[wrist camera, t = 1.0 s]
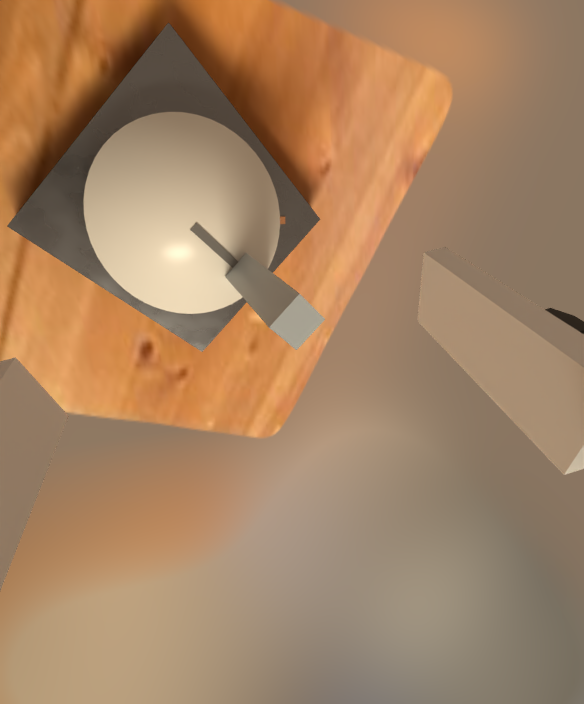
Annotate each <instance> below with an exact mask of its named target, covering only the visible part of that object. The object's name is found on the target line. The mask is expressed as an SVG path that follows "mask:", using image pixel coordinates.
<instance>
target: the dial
mask: <svg viewBox="0 0 584 704" xmlns="http://www.w3.org/2000/svg"><path fill="white" fill-rule="evenodd" d="M84 218H85V223H86V229H87V232H88V235H89V239H90V242H91V244H92V246H93V249H94V251H95V253H96V255H97V257H98V259H99V260H100V262H101V263H102V265H103V266H104V268H105V269H106V271H107V272H108V273H109V274H110V275H111V277H112V278H113V279H114V280H115V281H116V282H117V283H118V284H119V285H120V286H121V287H122V288H123V289H125V290H126V291H127V292H129V293H130V294H131V295H133V296H134V297H136V298H138V299H139V300H141V301H143V302H144V303H147V304H149V305H151V306H153V307H156V308H159V309H162V310H165V311H170V312H175V313H184V314H197V313H206V312H211V311H215V310H218V309H221V308H224V307H226V306H228V305H231V304H233V303H234V302H236V301H238V300H239V299H241V298H242V297H243V298H244V299H245V300H246V301H247V303H248V304H249V305H250V306H251V307H252V308H253V309H254V311H255V312H256V313H257V314H258V315H259V316H260V318H261V319H262V320H263V321H264V322H265V323H266V324H267V326H268V327H269V328H270V329H272V330H273V331H274V332H275V333H276V334H278V335H279V336H280V337H281V338H283V339H284V340H285V341H286V342H287V343H289V344H290V345H291V346H292V347H293V348H295V349H296V350H297V349H298V348H299V347H300V346H301V345H302V344H303V343H304V342H305V341H306V340H307V338H308V337H309V336H310V335H311V334H312V333H313V332H314V331H315V330H316V329H317V328H318V326H319V325H320V324H321V323H322V322H323V321H324V320H325V319H324V318H323V317H322V316H321V315H320V314H319V313H318V312H317V311H316V310H315V309H314V308H313V307H312V306H311V305H310V304H309V303H308V302H307V301H306V300H305V299H304V298H303V297H302V296H301V295H300V294H299V293H298V292H297V291H295V290H294V289H293V288H291V287H290V286H289V285H288V284H286V283H285V282H284V281H282V280H281V279H280V278H278V277H277V276H276V275H274V274H273V273H272V272H271V271H269V270H268V268H269V266H270V264H271V262H272V260H273V257H274V254H275V251H276V248H277V244H278V239H279V231H280V211H279V204H278V199H277V195H276V191H275V188H274V185H273V183H272V180H271V178H270V175H269V173H268V172H267V170H266V168H265V166H264V164H263V163H262V161H261V160H260V158H259V157H258V156H257V154H256V153H255V152H254V151H253V150H252V148H251V147H250V146H249V145H248V144H247V143H246V142H245V141H244V140H243V139H242V138H240V137H239V136H238V135H237V134H236V133H234V132H233V131H231V130H230V129H228V128H227V127H225V126H224V125H222V124H220V123H218V122H216V121H213V120H211V119H209V118H206V117H203V116H200V115H196V114H190V113H185V112H163V113H156V114H151V115H148V116H144V117H141V118H138V119H136V120H134V121H132V122H130V123H129V124H127V125H125V126H124V127H122V128H121V129H120V130H118V131H117V132H116V133H114V134H113V135H112V136H111V137H110V138H109V139H108V140H107V141H106V143H105V144H104V145H103V146H102V148H101V149H100V151H99V152H98V154H97V155H96V157H95V159H94V161H93V163H92V165H91V167H90V170H89V173H88V176H87V180H86V184H85V191H84Z"/></svg>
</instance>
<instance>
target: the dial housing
mask: <svg viewBox="0 0 584 704" xmlns="http://www.w3.org/2000/svg"><path fill="white" fill-rule="evenodd" d="M163 112H185V113H190V114H196V115H200V116H203V117H206V118H209V119H211V120H213V121H216V122H218V123H220V124H222V125H224V126H225V127H227V128H228V129H230V130H231V131H233V132H234V133H236V134H237V135H238V136H239V137H240V138H242V139H243V140H244V141H245V142H246V143H247V144H248V145H249V146H250V147H251V148H252V150H253V151H254V152H255V153H256V154H257V156H258V157H259V158H260V160H261V161H262V163H263V164H264V166H265V168H266V170H267V172H268V173H269V175H270V178H271V180H272V183H273V185H274V188H275V191H276V195H277V199H278V204H279V211H280V231H279V239H278V244H277V248H276V251H275V254H274V257H273V260H272V262H271V264H270V266H269V268H268V270H269V271H271V272H272V273H273V272H274V271H275V270H276V268H277V267H278V266H279V265H280V264H281V263H282V262H283V261H284V259H285V258H286V257H287V256H288V255H289V254H290V253H291V252H292V250H293V249H294V248H295V247H296V246H297V245H298V244H299V243H300V241H301V240H302V239H303V238H304V237H305V236H306V235H307V234H308V232H309V231H310V230H311V229H312V228H313V227H314V226H315V225H316V223H317V222H318V221H319V220H320V218H319V217H318V216H317V215H316V213H315V212H314V211H313V209H312V208H311V207H310V205H309V204H308V203H307V202H306V200H305V199H304V198H303V196H302V195H301V194H300V192H299V191H298V190H297V189H296V187H295V186H294V185H293V183H292V182H291V181H290V179H289V178H288V177H287V176H286V174H285V173H284V172H283V170H282V169H281V168H280V166H279V165H278V164H277V163H276V161H275V160H274V159H273V157H272V156H271V155H270V153H269V152H268V151H267V150H266V148H265V147H264V146H263V144H262V143H261V142H260V140H259V139H258V138H257V137H256V135H255V134H254V133H253V131H252V130H251V129H250V127H249V126H248V125H247V124H246V122H245V121H244V120H243V118H242V117H241V116H240V115H239V113H238V112H237V111H236V109H235V108H234V107H233V105H232V104H231V103H230V102H229V100H228V99H227V98H226V96H225V95H224V94H223V92H222V91H221V90H220V89H219V87H218V86H217V85H216V83H215V82H214V81H213V79H212V78H211V77H210V76H209V74H208V73H207V72H206V70H205V69H204V68H203V66H202V65H201V64H200V63H199V61H198V60H197V59H196V57H195V56H194V55H193V53H192V52H191V51H190V50H189V48H188V47H187V46H186V44H185V43H184V42H183V40H182V39H181V38H180V37H179V35H178V34H177V33H176V31H175V30H174V29H173V27H172V26H171V25H170V24H169V23H168V24H167V25H166V26H165V28H164V29H163V30H162V31H161V33H160V34H159V35H158V36H157V38H156V39H155V40H154V41H153V43H152V44H151V45H150V46H149V48H148V49H147V50H146V52H145V53H144V54H143V55H142V57H141V58H140V59H139V60H138V62H137V63H136V64H135V65H134V67H133V68H132V69H131V70H130V72H129V73H128V74H127V76H126V77H125V78H124V79H123V81H122V82H121V83H120V84H119V86H118V87H117V88H116V89H115V91H114V92H113V93H112V94H111V96H110V97H109V98H108V99H107V101H106V102H105V103H104V105H103V106H102V107H101V108H100V110H99V111H98V112H97V113H96V115H95V116H94V117H93V118H92V120H91V121H90V122H89V123H88V125H87V126H86V127H85V129H84V130H83V131H82V132H81V134H80V135H79V136H78V137H77V139H76V140H75V141H74V142H73V144H72V145H71V146H70V147H69V149H68V150H67V151H66V152H65V154H64V155H63V156H62V158H61V159H60V160H59V161H58V163H57V164H56V165H55V166H54V168H53V169H52V170H51V171H50V173H49V174H48V175H47V176H46V178H45V179H44V180H43V182H42V183H41V184H40V185H39V187H38V188H37V189H36V190H35V192H34V193H33V194H32V195H31V197H30V198H29V199H28V200H27V202H26V203H25V204H24V205H23V207H22V208H21V209H20V211H19V212H18V213H17V214H16V216H15V217H14V218H13V219H12V221H11V222H10V223H9V224H8V227H9V228H11V229H12V230H14V231H15V232H17V233H18V234H20V235H22V236H23V237H25V238H26V239H28V240H29V241H31V242H32V243H34V244H36V245H37V246H39V247H40V248H42V249H43V250H45V251H46V252H48V253H50V254H51V255H53V256H54V257H56V258H57V259H59V260H60V261H62V262H64V263H65V264H67V265H68V266H70V267H71V268H73V269H74V270H76V271H78V272H79V273H81V274H82V275H84V276H85V277H87V278H88V279H90V280H91V281H93V282H95V283H96V284H98V285H99V286H101V287H102V288H104V289H105V290H107V291H109V292H110V293H112V294H113V295H115V296H116V297H118V298H119V299H121V300H123V301H124V302H126V303H127V304H129V305H130V306H132V307H133V308H135V309H137V310H138V311H140V312H141V313H143V314H144V315H146V316H147V317H149V318H150V319H152V320H154V321H155V322H157V323H158V324H160V325H161V326H163V327H164V328H166V329H168V330H169V331H171V332H172V333H174V334H175V335H177V336H178V337H180V338H182V339H183V340H185V341H186V342H188V343H189V344H191V345H192V346H194V347H196V348H197V349H199V350H200V351H202V352H203V350H204V349H205V348H206V347H207V346H208V345H209V344H210V343H211V341H212V340H213V339H214V338H215V337H216V336H217V335H218V334H219V332H220V331H221V330H222V329H223V328H224V327H225V326H226V325H227V323H228V322H229V321H230V320H231V319H232V318H233V317H234V316H235V314H236V313H237V312H238V311H239V310H240V309H241V308H242V307H243V305H244V304H245V303H246V302H247V301H246V300H245V299H244V298H243V297H242V298H241V299H239V300H238V301H236V302H234V303H233V304H231V305H228V306H226V307H224V308H221V309H218V310H215V311H211V312H206V313H197V314H184V313H175V312H170V311H165V310H162V309H159V308H156V307H153V306H151V305H149V304H147V303H144V302H143V301H141V300H139V299H138V298H136V297H134V296H133V295H131V294H130V293H129V292H127V291H126V290H125V289H123V288H122V287H121V286H120V285H119V284H118V283H117V282H116V281H115V280H114V279H113V278H112V277H111V275H110V274H109V273H108V272H107V271H106V269H105V268H104V266H103V265H102V263H101V262H100V260H99V259H98V257H97V255H96V253H95V251H94V249H93V246H92V244H91V242H90V239H89V235H88V232H87V229H86V223H85V218H84V191H85V184H86V180H87V176H88V173H89V170H90V167H91V165H92V163H93V161H94V159H95V157H96V155H97V154H98V152H99V151H100V149H101V148H102V146H103V145H104V144H105V143H106V141H107V140H108V139H109V138H110V137H111V136H112V135H113V134H114V133H116V132H117V131H118V130H120V129H121V128H122V127H124V126H125V125H127V124H129V123H130V122H132V121H134V120H136V119H138V118H141V117H144V116H148V115H151V114H156V113H163Z"/></svg>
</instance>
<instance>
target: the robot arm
mask: <svg viewBox="0 0 584 704" xmlns="http://www.w3.org/2000/svg"><path fill="white" fill-rule="evenodd" d="M418 322H419V323H420V324H421V325H422V326H423V327H424V328H425V329H426V330H427V332H428V333H429V334H431V336H432V337H433V338H434V339H435V340H436V341H437V342H438V343H439V344H440V345H441V346H442V347H443V348H444V349H445V350H446V351H447V352H448V354H449V355H450V356H451V357H452V358H453V359H454V360H455V361H456V362H457V363H458V364H459V365H460V366H461V367H462V368H463V369H464V370H465V371H466V372H467V373H468V374H469V376H470V377H471V378H472V379H473V380H474V381H475V382H476V383H477V384H478V385H479V386H480V387H481V388H482V389H483V390H484V391H485V392H486V393H487V394H488V396H489V397H490V398H491V399H492V400H493V401H494V402H495V403H496V404H497V405H498V406H499V407H500V408H501V409H502V410H503V411H504V412H505V413H506V414H507V416H508V417H509V418H510V419H511V420H512V421H513V422H514V423H515V424H516V425H517V426H518V427H519V428H520V429H521V430H522V431H523V432H524V433H525V434H526V435H527V437H528V438H529V439H530V440H531V441H532V442H533V443H534V444H535V445H536V446H537V447H538V448H539V449H540V450H541V451H542V452H543V453H544V454H545V455H546V456H547V457H548V459H549V460H550V461H551V462H552V463H553V464H554V465H555V466H556V467H557V468H558V469H559V470H560V471H561V472H562V473H563V474H564V475H565V474H568V473H571V472H575V471H578V470H581V469H584V322H583V321H582V320H580V319H578V318H577V317H575V316H573V315H570V314H567V313H564V312H561V311H558V310H555V309H552V308H549V309H545V310H544V309H543V308H541V307H540V306H538V305H536V304H535V303H533V302H532V301H530V300H528V299H527V298H525V297H523V296H522V295H521V294H519V293H518V292H516V291H514V290H513V289H511V288H510V287H508V286H506V285H505V284H503V283H502V282H500V281H499V280H497V279H495V278H494V277H492V276H491V275H489V274H487V273H486V272H484V271H483V270H481V269H480V268H478V267H476V266H475V265H473V264H472V263H470V262H469V261H467V260H466V259H464V258H462V257H461V256H459V255H457V254H456V253H454V252H452V251H451V250H449V249H448V248H446V247H443V248H439V249H436V250H431V251H428V252H424V256H423V268H422V278H421V289H420V300H419V311H418ZM67 419H68V415H67V414H66V413H65V411H64V410H63V409H62V408H61V407H60V406H59V405H58V404H57V403H56V402H55V400H54V399H53V398H52V397H51V396H50V395H49V394H48V393H47V392H46V391H45V389H44V388H43V387H42V386H41V385H40V384H39V383H38V382H37V381H36V379H35V378H34V377H33V376H32V375H31V374H30V373H29V372H28V371H27V370H26V368H25V367H24V366H23V365H22V364H21V363H20V362H19V361H18V360H17V359H16V358H12V359H8V360H4V361H1V362H0V590H1V587H2V585H3V582H4V579H5V577H6V575H7V572H8V570H9V567H10V564H11V562H12V559H13V557H14V554H15V552H16V549H17V547H18V544H19V541H20V539H21V536H22V534H23V531H24V529H25V526H26V524H27V521H28V518H29V516H30V513H31V511H32V508H33V506H34V503H35V501H36V498H37V495H38V493H39V490H40V488H41V485H42V483H43V480H44V478H45V475H46V472H47V470H48V467H49V465H50V462H51V460H52V457H53V454H54V452H55V449H56V447H57V444H58V442H59V439H60V437H61V434H62V432H63V429H64V426H65V424H66V421H67Z"/></svg>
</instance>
